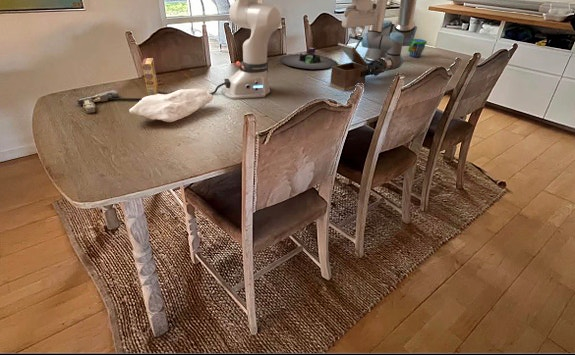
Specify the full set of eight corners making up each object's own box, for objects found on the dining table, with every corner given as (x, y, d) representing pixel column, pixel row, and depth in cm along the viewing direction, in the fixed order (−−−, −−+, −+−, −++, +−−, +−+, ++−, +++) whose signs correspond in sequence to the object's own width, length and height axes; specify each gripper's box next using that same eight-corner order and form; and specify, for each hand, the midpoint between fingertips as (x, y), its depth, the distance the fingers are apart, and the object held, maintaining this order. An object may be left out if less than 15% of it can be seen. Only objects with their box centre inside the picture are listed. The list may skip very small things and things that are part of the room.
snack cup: (416, 52, 253) (419, 37, 248) (428, 56, 246) (432, 40, 240) (401, 55, 246) (404, 39, 240) (413, 59, 238) (416, 43, 233)
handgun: (128, 97, 156) (111, 87, 164) (86, 107, 144) (70, 97, 152) (129, 103, 157) (113, 94, 165) (88, 114, 146) (72, 103, 154)
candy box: (157, 97, 164) (152, 63, 155) (147, 98, 163) (141, 63, 155) (158, 91, 171) (153, 57, 163) (149, 91, 170) (143, 58, 162)
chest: (343, 90, 181) (346, 71, 176) (329, 85, 187) (331, 66, 182) (364, 85, 190) (367, 66, 184) (350, 80, 196) (352, 61, 191)
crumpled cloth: (117, 110, 146) (113, 90, 140) (195, 92, 166) (194, 73, 160) (143, 139, 134) (140, 118, 128) (223, 116, 154) (224, 96, 148)
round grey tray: (348, 64, 220) (349, 48, 215) (302, 72, 202) (302, 55, 198) (313, 55, 244) (313, 41, 240) (269, 61, 227) (268, 46, 222)
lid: (352, 48, 172) (361, 33, 171) (337, 44, 178) (346, 30, 177) (366, 66, 184) (375, 52, 183) (352, 61, 190) (360, 48, 190)
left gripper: (350, 7, 162) (346, 39, 169) (380, 4, 173) (375, 35, 180) (340, 5, 166) (337, 37, 173) (370, 2, 177) (365, 32, 184)
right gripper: (396, 77, 194) (369, 84, 182) (364, 67, 208) (337, 73, 196) (399, 63, 190) (371, 69, 178) (366, 53, 204) (338, 59, 192)
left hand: (356, 36), depth 177 cm, fingers closed
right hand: (353, 71), depth 187 cm, fingers closed on chest, 10 cm apart
